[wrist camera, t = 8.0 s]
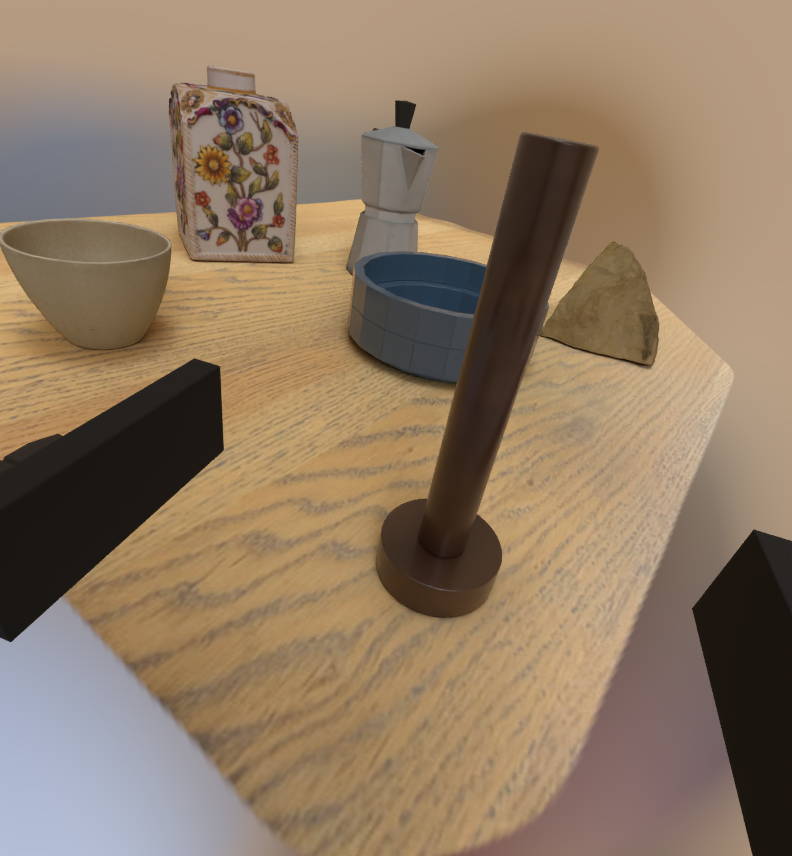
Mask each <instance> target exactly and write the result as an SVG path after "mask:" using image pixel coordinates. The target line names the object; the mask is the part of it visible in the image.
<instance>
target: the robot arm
mask: <svg viewBox="0 0 792 856" xmlns="http://www.w3.org/2000/svg"><path fill="white" fill-rule="evenodd" d="M222 451H224V444H223V422H222V400H221V378H220V366H217V365H214V364H211V363H208V362H204V361H201V360H198V359H193V360H191V361H189V362H188V363H186V364H184V365H183V366H181V367H179V368H178V369H176V370H174V371H172V372H171V373H169V374H167V375H166V376H164V377H162V378H161V379H159V380H157V381H156V382H154V383H152V384H150V385H149V386H147V387H145V388H144V389H142V390H140V391H139V392H137V393H135V394H134V395H132V396H130V397H128V398H127V399H125V400H123V401H122V402H120V403H118V404H117V405H115V406H113V407H112V408H110V409H108V410H107V411H105V412H103V413H101V414H100V415H98V416H96V417H95V418H93V419H91V420H90V421H88V422H86V423H85V424H83V425H81V426H79V427H78V428H76V429H74V430H73V431H71V432H69V433H68V434H66V435H64V436H62V435H59V434H56V435H52V436H49V437H46V438H43V439H40V440H37V441H34V442H31V443H28V444H26V445H24V446H23V447H21V448H19V449H17V450H16V451H14V452H12V453H10V454H9V455H7V456H5V457H4V459H3V460H2V461H1V460H0V638H2V639H5V640H7V641H9V642H12V641H13V640H14V639H15V638H16V637H17V636H18V635H19V634H21V632H23V631H24V630H25V629H26V628H27V627H28V626H29V625H31V624H32V623H33V622H34V621H35V620H36V619H37V618H38V617H39V616H41V615H42V614H43V613H44V612H45V611H46V610H47V609H48V608H49V607H50V606H52V605H53V604H54V603H55V602H56V601H57V600H58V599H59V598H60V597H62V596H63V595H64V594H65V593H66V592H67V591H68V590H69V589H70V588H72V587H73V586H74V585H75V584H76V583H77V582H78V581H79V580H80V579H82V578H83V577H84V576H85V575H86V574H87V573H88V572H89V571H90V570H92V569H93V568H94V567H95V566H96V565H97V564H98V563H99V562H100V561H102V560H103V559H104V558H105V557H106V556H107V555H108V554H109V553H110V552H112V551H113V550H114V549H115V548H116V547H117V546H118V545H119V544H120V543H121V542H123V541H124V540H125V539H126V538H127V537H128V536H129V535H130V534H131V533H133V532H134V531H135V530H136V529H137V528H138V527H139V526H140V525H141V524H143V523H144V522H145V521H146V520H147V519H148V518H149V517H150V516H151V515H153V514H154V513H155V512H156V511H157V510H158V509H159V508H160V507H161V506H163V505H164V504H165V503H166V502H167V501H168V500H169V499H170V498H171V497H173V496H174V495H175V494H176V493H177V492H178V491H179V490H180V489H181V488H182V487H184V486H185V485H186V484H187V483H188V482H189V481H190V480H191V479H192V478H194V477H195V476H196V475H197V474H198V473H199V472H200V471H201V470H202V469H204V468H205V467H206V466H207V465H208V464H209V463H210V462H211V461H212V460H214V459H215V458H216V457H217V456H218V455H219V454H220V453H221V452H222ZM692 610H693V614H694V618H695V622H696V626H697V630H698V634H699V638H700V643H701V646H702V651H703V655H704V659H705V663H706V667H707V671H708V675H709V679H710V683H711V688H712V691H713V696H714V699H715V704H716V708H717V712H718V716H719V720H720V724H721V728H722V732H723V737H724V741H725V745H726V749H727V753H728V756H729V761H730V765H731V769H732V773H733V777H734V781H735V785H736V789H737V794H738V798H739V802H740V806H741V809H742V814H743V818H744V822H745V826H746V830H747V834H748V838H749V842H750V847H751V851H752V854H753V856H792V541H790V540H786V539H783V538H780V537H776V536H773V535H770V534H767V533H763V532H760V531H757V530H753V531H752V533H751V534H750V535H749V536H748V538H747V539H746V540H745V541H744V543H743V544H742V545H741V547H740V548H739V549H738V551H737V552H736V553H735V554H734V556H733V557H732V558H731V559H730V561H729V562H728V563H727V565H726V566H725V567H724V568H723V570H722V571H721V572H720V574H719V575H718V576H717V577H716V579H715V580H714V581H713V582H712V584H711V585H710V586H709V588H708V589H707V590H706V591H705V593H704V594H703V595H702V597H701V598H700V599H699V601H698V602H697V603H696V604H695V606H694V607H693V608H692Z"/></svg>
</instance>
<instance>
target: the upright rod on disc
mask: <svg viewBox="0 0 792 856" xmlns="http://www.w3.org/2000/svg"><path fill="white" fill-rule="evenodd" d="M598 151H599V147H598V146H595V145H591V144H585V143H581V142H576V141H571V140H566V139H560V138H555V137H549V136H544V135H539V134H533V133H527V132H523V133H521V134H520V137H519V141H518V145H517V149H516V153H515V157H514V161H513V165H512V169H511V173H510V176H509V180H508V185H507V188H506V193H505V196H504V200H503V204H502V208H501V212H500V216H499V220H498V224H497V228H496V232H495V235H494V239H493V243H492V247H491V251H490V255H489V259H488V263H487V267H486V271H485V275H484V279H483V283H482V286H481V290H480V294H479V298H478V302H477V306H476V310H475V314H474V318H473V322H472V326H471V330H470V334H469V338H468V342H467V345H466V349H465V353H464V357H463V361H462V365H461V369H460V373H459V377H458V381H457V385H456V389H455V393H454V397H453V400H452V404H451V408H450V412H449V416H448V420H447V424H446V428H445V432H444V436H443V440H442V444H441V448H440V452H439V456H438V459H437V463H436V467H435V471H434V475H433V479H432V483H431V487H430V491H429V495H428V499H418V500H413V501H409V502H406V503H404V504H402V505H400V506H398V507H397V508H395V509H394V510H393V511H392V512H391V513H390V514H389V515H388V516H387V518H386V519H385V521H384V523H383V526H382V530H381V535H380V540H379V546H378V551H377V556H376V565H377V571H378V574H379V577H380V579H381V581H382V583H383V584H384V586H385V588H386V589H387V590H388V591H389V593H390V594H391V595H392V596H393V597H394V598H395V599H397V600H398V601H399V602H401V603H402V604H403V605H405V606H407V607H408V608H410V609H412V610H414V611H417V612H419V613H422V614H425V615H429V616H434V617H456V616H461V615H464V614H467V613H469V612H471V611H473V610H475V609H476V608H478V607H479V606H480V605H481V604H482V603H483V602H484V601H485V600H486V599H487V597H488V595H489V593H490V591H491V589H492V586H493V584H494V581H495V579H496V576H497V574H498V571H499V569H500V566H501V562H502V549H501V545H500V542H499V540H498V537H497V536H496V534H495V532H494V531H493V529H492V528H491V527H490V526H489V525H488V523H487V522H486V521H485V520H483V519H482V518H481V517H480V516H479V515H477V512H478V509H479V506H480V503H481V500H482V497H483V494H484V491H485V488H486V485H487V482H488V479H489V476H490V473H491V470H492V467H493V464H494V461H495V458H496V455H497V452H498V449H499V446H500V443H501V440H502V437H503V434H504V431H505V428H506V425H507V422H508V419H509V416H510V413H511V410H512V407H513V404H514V401H515V398H516V395H517V392H518V389H519V386H520V383H521V380H522V378H523V375H524V372H525V369H526V366H527V363H528V360H529V357H530V354H531V351H532V348H533V345H534V342H535V339H536V336H537V333H538V330H539V327H540V324H541V321H542V318H543V315H544V312H545V309H546V306H547V303H548V300H549V297H550V294H551V291H552V288H553V285H554V282H555V279H556V276H557V273H558V270H559V267H560V264H561V261H562V258H563V255H564V252H565V249H566V246H567V243H568V240H569V237H570V234H571V231H572V228H573V225H574V223H575V219H576V216H577V213H578V210H579V208H580V205H581V202H582V199H583V196H584V193H585V190H586V187H587V184H588V181H589V177H590V175H591V172H592V169H593V166H594V163H595V160H596V157H597V154H598Z"/></svg>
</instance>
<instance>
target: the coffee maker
mask: <svg viewBox="0 0 792 856" xmlns="http://www.w3.org/2000/svg"><path fill="white" fill-rule="evenodd" d="M395 103H396V104H395V108H396V109H395V111H396V112H395V113H396V114H395V118H396V119H395V121H396V126H394V127H389V128H385V129H376V128H374V129H373V131H370V132H366V133H363V134H362V201H363V202H364V204H365V205H366V206H365V211H363V212H362V213H360V217H359V221H358V225H357V229H356V233H355V236H354V240H353V244H352V248H351V252H350V256H349V259H348V263H347V267H346V269H347V270H348V271H349V272H350V273H351V274H352V275H353V269H354V264H355V263H356V262H357V261H359V260H360V259H361V258H362V257H365V256H368V255H372V254H375V253H382V252H395V251H398V252H399V251H404V252H417V240H418V222H417V221H416V220H415V215H416V213H417V212H419V211H420V210H421V207H422V203H423V200H424V197H425V193H426V190H427V186H428V182H429V180H430V176H431V173H432V169H433V166H434V162H435V159H436V155H437V152H438V149H439V148H438V147H437V146H436V145H434V144H432V143H431V142H429V141H428V140H426V139H424V138H423V137H421V136H420V135H418V134H417V133H415V132H413V131H412V130H410V129H409V128H410V124H411V121H412V118H413V114H414V111H415V107H416V104H414V103H411V102H408V101H395Z"/></svg>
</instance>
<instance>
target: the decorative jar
mask: <svg viewBox="0 0 792 856" xmlns="http://www.w3.org/2000/svg"><path fill="white" fill-rule="evenodd" d="M207 79H208V85H207V86H205V85H195V84H188V83H181V84H173V86H172V91H171V98H170V99H169V117H170V129H171V144H172V160H173V176H174V189H175V201H176V212H177V221H178V230H179V233H180V235H181V237H182V240H183V242H184V245H185V247H186V250H187V252H188V253H189V256H190V257H191V259H193V260H206V261H247V262H285V263H290V262H292V261H293V257H294V246H295V245H294V244H295V226H296V203H297V202H296V200H297V165H298V135H297V132H296V128H295V123H294V122H293V120H292V116H291V112H290V110H289V106H288V105H287V104H286V103H283V102H280V101H279V100H277V99H275V98H272V97H265V96H261V95H257V94H256V92H255V77H254V73H253V72H247V71H240V70H234V69H226V68H221V67H215V66H207Z"/></svg>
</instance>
